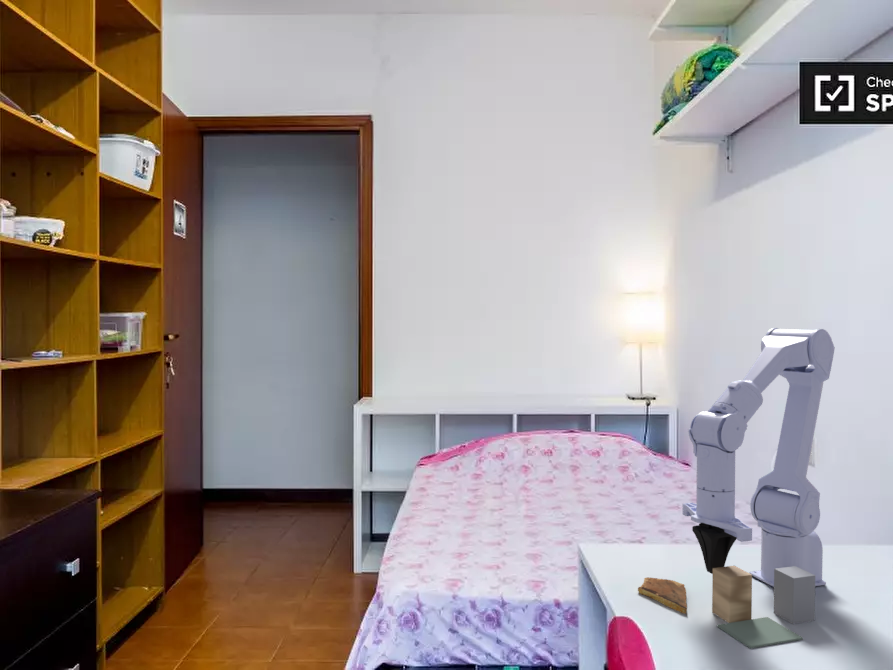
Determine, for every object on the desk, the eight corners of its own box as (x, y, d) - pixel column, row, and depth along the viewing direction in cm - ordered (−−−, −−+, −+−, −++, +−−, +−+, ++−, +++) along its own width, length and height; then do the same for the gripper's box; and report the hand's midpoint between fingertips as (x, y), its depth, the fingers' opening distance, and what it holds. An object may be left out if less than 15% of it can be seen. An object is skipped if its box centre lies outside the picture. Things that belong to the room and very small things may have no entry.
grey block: (794, 609, 110) (795, 566, 110) (814, 620, 106) (815, 575, 106) (773, 612, 109) (774, 568, 109) (793, 624, 105) (793, 578, 105)
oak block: (733, 609, 110) (734, 565, 110) (751, 619, 107) (752, 574, 106) (712, 612, 109) (712, 568, 109) (729, 623, 105) (729, 577, 105)
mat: (767, 618, 107) (767, 616, 107) (802, 639, 100) (802, 637, 100) (717, 626, 104) (717, 624, 104) (750, 648, 97) (750, 646, 97)
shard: (686, 618, 108) (687, 606, 108) (635, 611, 111) (636, 600, 110) (685, 591, 119) (685, 580, 118) (639, 585, 121) (639, 575, 121)
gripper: (667, 478, 117) (666, 558, 117) (724, 501, 103) (723, 592, 103) (703, 475, 119) (702, 554, 119) (764, 497, 105) (763, 586, 105)
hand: (714, 571), depth 112 cm, fingers closed
